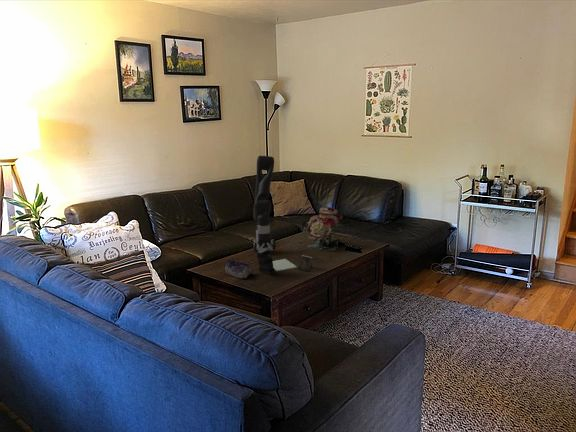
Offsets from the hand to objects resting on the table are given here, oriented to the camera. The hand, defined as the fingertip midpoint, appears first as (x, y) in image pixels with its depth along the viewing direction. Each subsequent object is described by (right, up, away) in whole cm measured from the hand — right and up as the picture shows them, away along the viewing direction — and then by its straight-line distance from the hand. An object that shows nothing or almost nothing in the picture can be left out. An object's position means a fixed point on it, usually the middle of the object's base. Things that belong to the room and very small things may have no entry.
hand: (264, 257), depth 289 cm
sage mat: (+10, -7, +14) cm, 19 cm away
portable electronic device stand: (+26, -8, +6) cm, 28 cm away
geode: (-17, -11, 0) cm, 20 cm away
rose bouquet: (+41, +3, +52) cm, 66 cm away
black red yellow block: (0, -10, +2) cm, 10 cm away
